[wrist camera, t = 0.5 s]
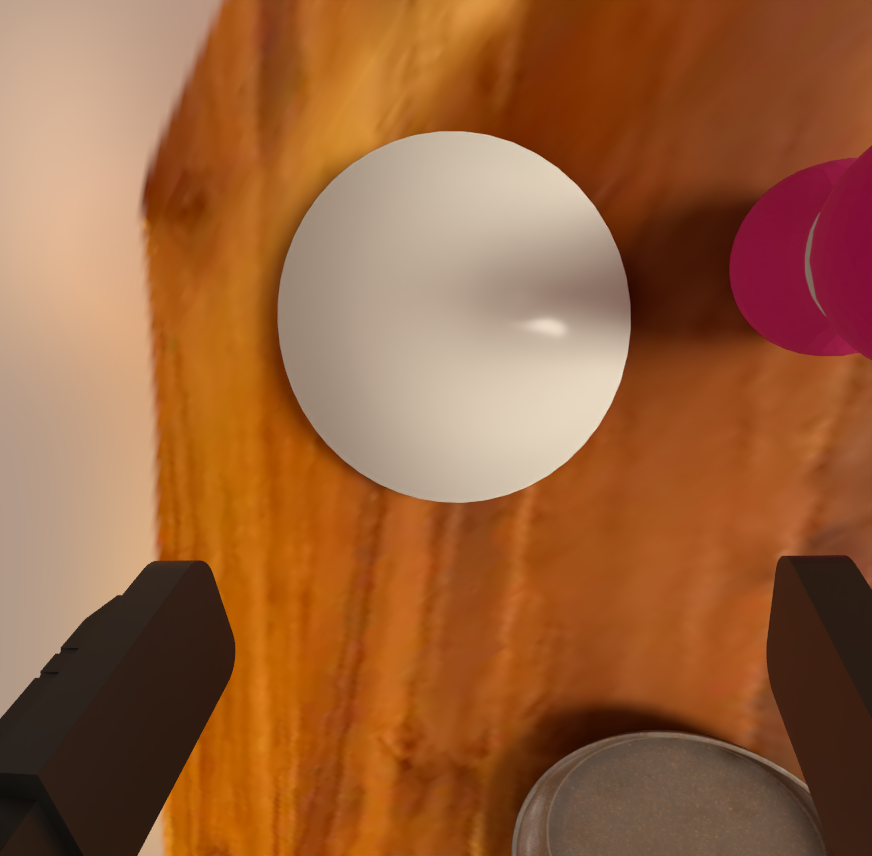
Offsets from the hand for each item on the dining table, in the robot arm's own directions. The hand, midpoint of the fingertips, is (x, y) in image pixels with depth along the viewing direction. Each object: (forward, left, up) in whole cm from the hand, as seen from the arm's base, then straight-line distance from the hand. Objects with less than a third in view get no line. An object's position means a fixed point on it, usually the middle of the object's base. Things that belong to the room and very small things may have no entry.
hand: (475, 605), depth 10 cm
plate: (0, -8, -25) cm, 27 cm away
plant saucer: (+24, +12, -26) cm, 37 cm away
